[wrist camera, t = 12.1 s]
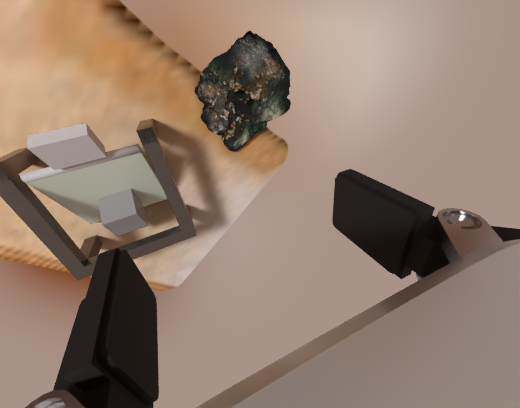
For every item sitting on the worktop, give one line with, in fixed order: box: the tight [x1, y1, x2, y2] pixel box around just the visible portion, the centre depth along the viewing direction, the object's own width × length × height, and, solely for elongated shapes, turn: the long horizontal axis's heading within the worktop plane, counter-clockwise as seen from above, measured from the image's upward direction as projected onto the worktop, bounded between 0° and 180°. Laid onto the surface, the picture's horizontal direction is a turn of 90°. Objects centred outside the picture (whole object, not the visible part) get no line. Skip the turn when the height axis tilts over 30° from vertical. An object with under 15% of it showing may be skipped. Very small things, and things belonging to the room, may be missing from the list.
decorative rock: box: [195, 31, 291, 151], centre depth 40 cm, size 19×6×15 cm
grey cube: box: [98, 189, 148, 236], centre depth 38 cm, size 5×5×5 cm
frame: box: [0, 119, 196, 280], centre depth 37 cm, size 20×20×9 cm
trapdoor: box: [20, 123, 167, 224], centre depth 34 cm, size 19×14×2 cm
